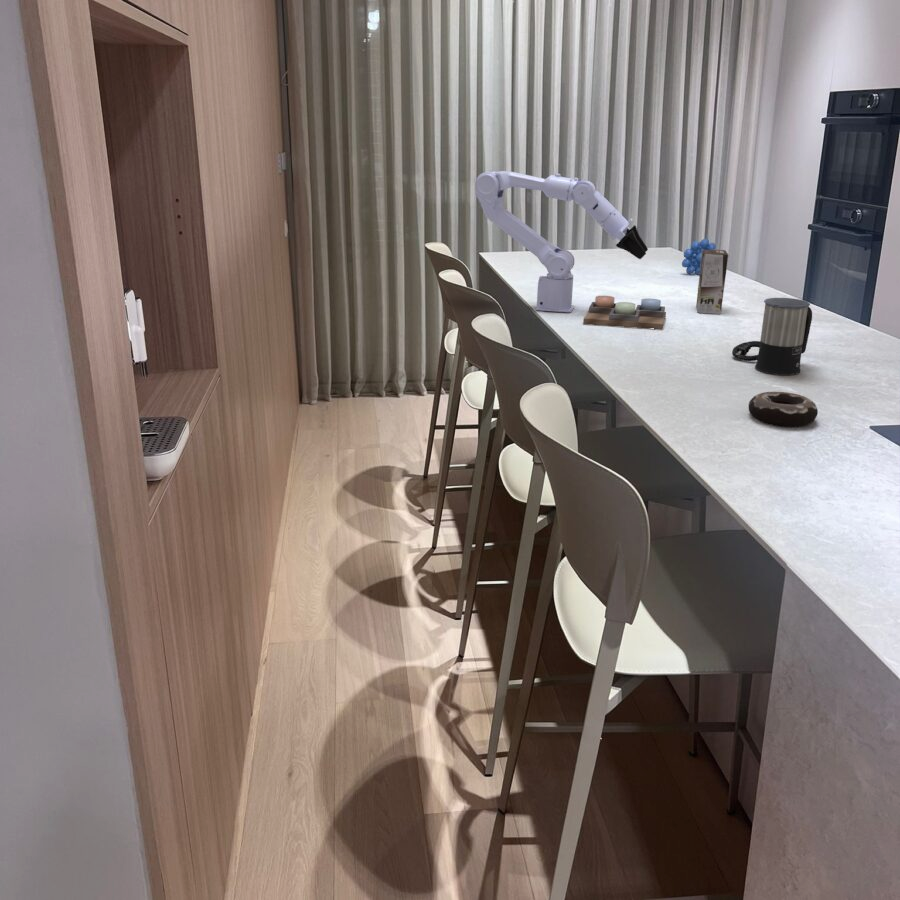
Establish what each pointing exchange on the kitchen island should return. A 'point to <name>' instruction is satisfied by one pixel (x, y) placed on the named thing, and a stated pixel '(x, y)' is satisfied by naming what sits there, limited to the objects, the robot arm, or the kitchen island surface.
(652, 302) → the button slate
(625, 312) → the button sage
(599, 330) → the kitchen island surface
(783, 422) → the donut
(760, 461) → the kitchen island surface
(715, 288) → the coffee box
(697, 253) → the grapes
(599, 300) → the button terracotta
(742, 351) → the milk frother
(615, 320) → the panel
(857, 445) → the kitchen island surface
